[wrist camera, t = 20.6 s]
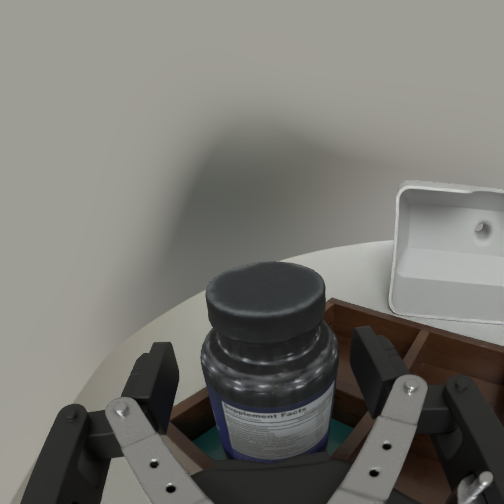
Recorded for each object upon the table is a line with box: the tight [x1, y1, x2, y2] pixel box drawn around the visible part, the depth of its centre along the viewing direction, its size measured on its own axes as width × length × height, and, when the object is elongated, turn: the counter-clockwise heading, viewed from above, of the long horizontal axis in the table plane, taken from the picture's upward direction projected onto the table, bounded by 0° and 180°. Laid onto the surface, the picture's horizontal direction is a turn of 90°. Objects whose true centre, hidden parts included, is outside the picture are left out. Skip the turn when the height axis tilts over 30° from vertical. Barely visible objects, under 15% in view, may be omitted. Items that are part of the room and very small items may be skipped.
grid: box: [160, 298, 504, 504], centre depth 16 cm, size 18×18×4 cm
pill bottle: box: [200, 262, 339, 463], centre depth 14 cm, size 6×6×11 cm
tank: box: [389, 180, 504, 325], centre depth 28 cm, size 25×16×12 cm, turn 63°
